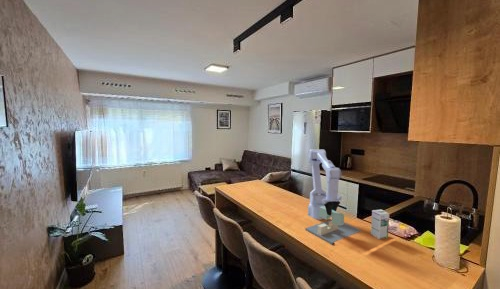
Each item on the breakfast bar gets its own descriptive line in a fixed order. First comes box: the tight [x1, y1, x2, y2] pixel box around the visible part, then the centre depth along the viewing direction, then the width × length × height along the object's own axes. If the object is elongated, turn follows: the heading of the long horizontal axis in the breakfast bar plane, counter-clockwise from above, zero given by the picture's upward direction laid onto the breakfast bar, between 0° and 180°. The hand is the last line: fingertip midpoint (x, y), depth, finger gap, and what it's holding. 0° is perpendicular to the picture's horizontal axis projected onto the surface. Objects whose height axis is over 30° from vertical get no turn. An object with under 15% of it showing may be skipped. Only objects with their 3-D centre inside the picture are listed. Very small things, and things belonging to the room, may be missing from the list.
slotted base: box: [304, 219, 363, 245], centre depth 127 cm, size 18×26×6 cm
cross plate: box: [319, 206, 345, 226], centre depth 125 cm, size 14×3×6 cm, turn 33°
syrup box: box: [370, 209, 390, 240], centre depth 120 cm, size 6×6×14 cm
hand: (331, 214), depth 124 cm, fingers closed on cross plate, 3 cm apart
